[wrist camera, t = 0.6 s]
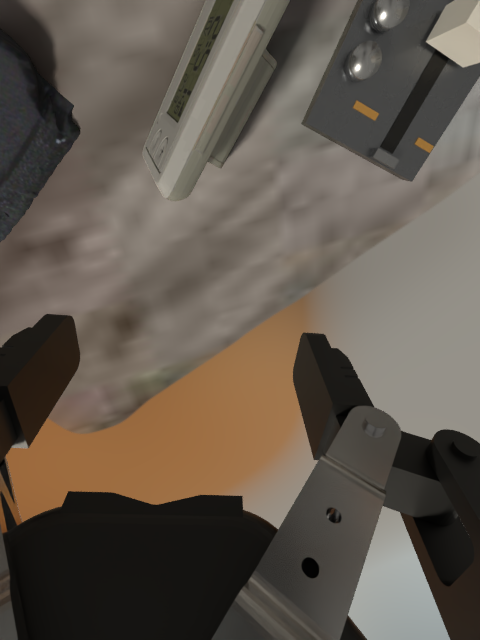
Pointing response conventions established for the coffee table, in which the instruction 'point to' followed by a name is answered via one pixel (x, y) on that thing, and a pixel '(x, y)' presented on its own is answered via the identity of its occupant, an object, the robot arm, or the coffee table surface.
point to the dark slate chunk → (28, 132)
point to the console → (390, 86)
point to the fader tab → (458, 32)
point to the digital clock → (212, 92)
